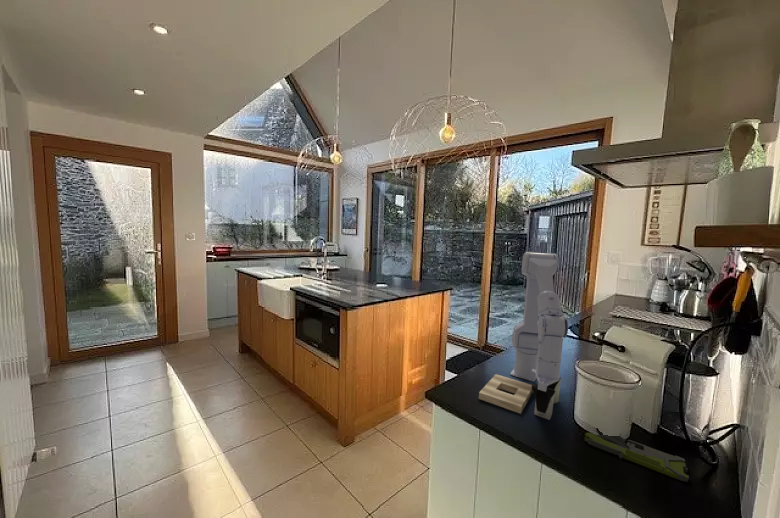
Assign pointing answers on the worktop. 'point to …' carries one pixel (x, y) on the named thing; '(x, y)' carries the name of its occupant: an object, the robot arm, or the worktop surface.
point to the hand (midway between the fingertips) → (544, 405)
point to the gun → (640, 455)
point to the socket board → (504, 399)
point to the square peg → (549, 409)
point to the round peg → (557, 392)
